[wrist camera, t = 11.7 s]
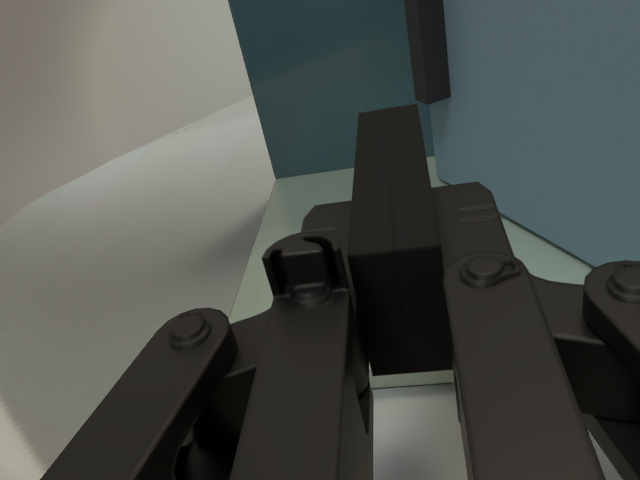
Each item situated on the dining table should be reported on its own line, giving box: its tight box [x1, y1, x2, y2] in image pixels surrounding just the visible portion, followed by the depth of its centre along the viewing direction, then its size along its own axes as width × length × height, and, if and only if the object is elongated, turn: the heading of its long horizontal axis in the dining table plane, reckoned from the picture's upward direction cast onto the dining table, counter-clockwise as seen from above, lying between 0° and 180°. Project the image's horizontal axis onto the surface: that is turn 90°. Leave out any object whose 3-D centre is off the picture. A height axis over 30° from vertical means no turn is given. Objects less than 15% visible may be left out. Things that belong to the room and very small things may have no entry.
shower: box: [228, 0, 595, 389], centre depth 21 cm, size 18×16×19 cm
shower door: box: [404, 0, 640, 267], centre depth 19 cm, size 13×2×16 cm, turn 24°
